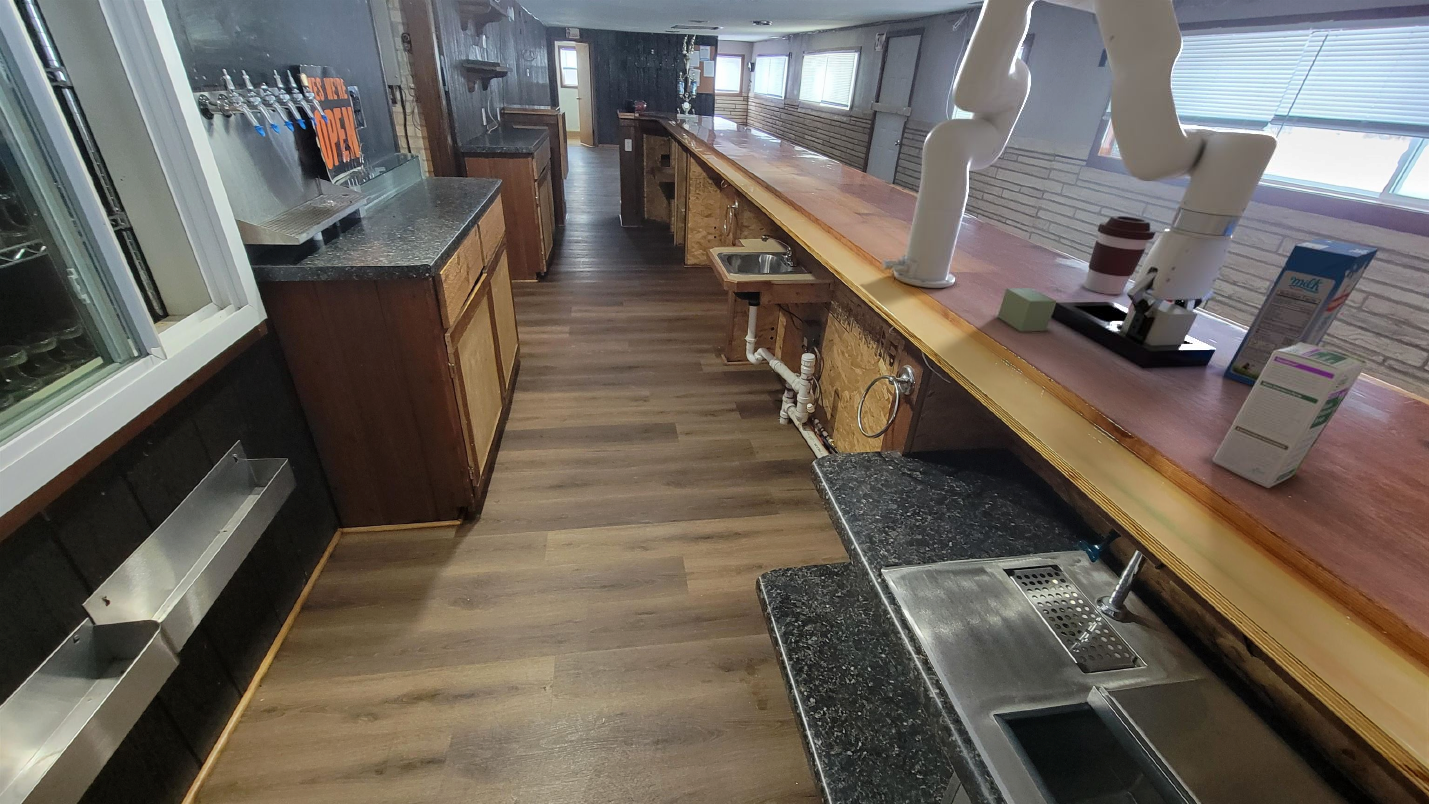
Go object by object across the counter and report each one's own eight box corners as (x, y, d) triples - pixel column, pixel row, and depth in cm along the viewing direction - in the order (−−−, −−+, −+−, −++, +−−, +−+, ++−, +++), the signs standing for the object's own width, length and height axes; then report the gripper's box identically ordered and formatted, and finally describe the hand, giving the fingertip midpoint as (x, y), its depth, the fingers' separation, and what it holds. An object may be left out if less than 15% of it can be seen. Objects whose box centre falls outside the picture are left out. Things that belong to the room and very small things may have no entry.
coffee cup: (1133, 290, 123) (1163, 220, 116) (1123, 300, 117) (1155, 227, 109) (1083, 279, 129) (1108, 212, 121) (1071, 288, 122) (1097, 217, 115)
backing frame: (1142, 368, 88) (1150, 351, 86) (1050, 317, 106) (1056, 302, 105) (1207, 366, 89) (1216, 348, 88) (1105, 316, 108) (1111, 301, 106)
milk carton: (1273, 393, 82) (1357, 256, 72) (1222, 375, 86) (1295, 245, 76) (1297, 378, 87) (1379, 248, 77) (1248, 362, 91) (1319, 238, 81)
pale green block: (1020, 331, 99) (1030, 301, 96) (997, 317, 105) (1006, 288, 102) (1045, 331, 100) (1056, 300, 97) (1021, 316, 106) (1031, 287, 103)
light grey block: (1154, 347, 89) (1170, 314, 86) (1120, 330, 95) (1134, 298, 92) (1181, 347, 90) (1198, 314, 87) (1145, 329, 96) (1160, 298, 93)
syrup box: (1269, 490, 61) (1349, 371, 54) (1208, 460, 66) (1274, 347, 58) (1293, 476, 64) (1373, 361, 56) (1232, 449, 68) (1299, 339, 61)
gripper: (1228, 218, 88) (1175, 327, 97) (1133, 217, 85) (1088, 328, 94) (1276, 230, 81) (1215, 345, 90) (1175, 229, 79) (1122, 347, 88)
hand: (1150, 335), depth 92 cm, fingers closed on light grey block, 5 cm apart
